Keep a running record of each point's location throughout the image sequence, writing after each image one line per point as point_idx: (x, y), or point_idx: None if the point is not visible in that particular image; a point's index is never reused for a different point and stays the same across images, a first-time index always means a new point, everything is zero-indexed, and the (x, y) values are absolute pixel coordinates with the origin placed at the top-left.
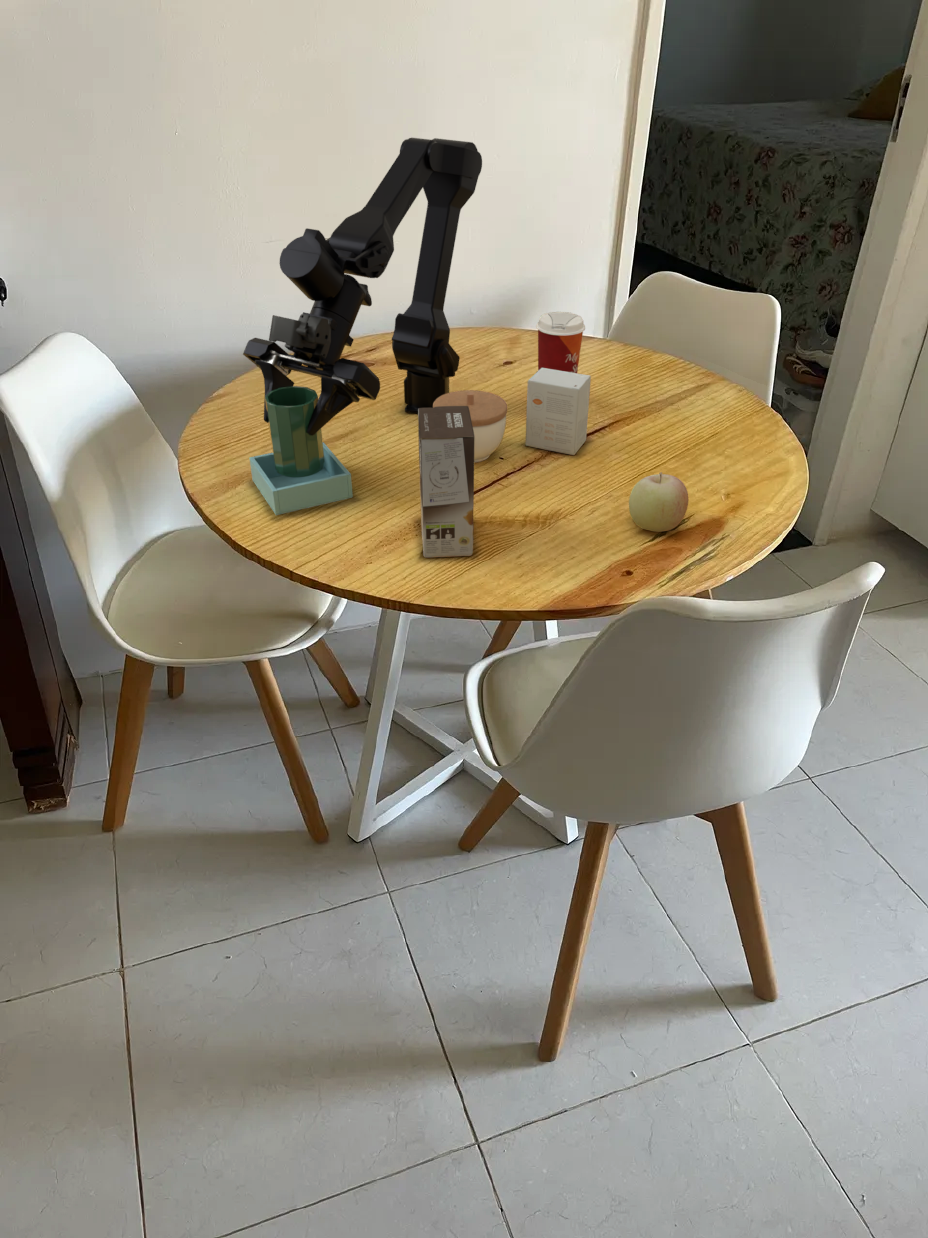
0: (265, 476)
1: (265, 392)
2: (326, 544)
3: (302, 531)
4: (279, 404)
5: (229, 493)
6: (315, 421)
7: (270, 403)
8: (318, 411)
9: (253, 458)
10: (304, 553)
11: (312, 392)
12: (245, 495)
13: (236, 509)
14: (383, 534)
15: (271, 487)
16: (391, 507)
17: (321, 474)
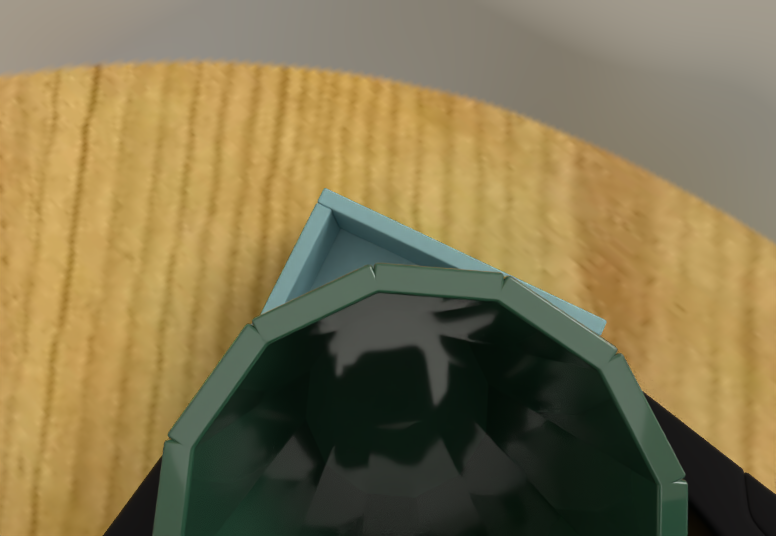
0: (433, 250)
1: (751, 483)
2: (112, 200)
3: (219, 208)
4: (585, 496)
5: (566, 228)
6: (158, 462)
7: (455, 275)
8: (115, 534)
9: (585, 323)
10: (132, 129)
11: None
12: (517, 251)
13: (471, 176)
14: (5, 345)
15: (351, 205)
16: (86, 490)
17: None
